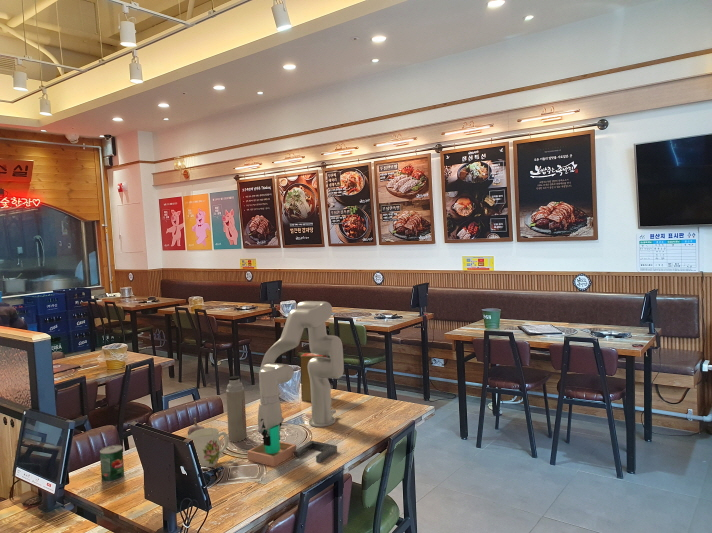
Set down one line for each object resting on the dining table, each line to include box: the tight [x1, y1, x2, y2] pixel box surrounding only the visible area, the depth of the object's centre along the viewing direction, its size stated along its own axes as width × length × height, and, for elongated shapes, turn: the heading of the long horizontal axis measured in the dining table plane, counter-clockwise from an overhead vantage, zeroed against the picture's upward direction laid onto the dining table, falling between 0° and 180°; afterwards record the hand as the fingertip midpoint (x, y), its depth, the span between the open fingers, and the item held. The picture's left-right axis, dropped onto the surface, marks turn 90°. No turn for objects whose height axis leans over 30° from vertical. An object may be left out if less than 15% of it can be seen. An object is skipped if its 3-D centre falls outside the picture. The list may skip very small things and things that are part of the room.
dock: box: [293, 440, 338, 464], centre depth 208 cm, size 12×13×2 cm
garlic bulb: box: [187, 417, 205, 436], centre depth 235 cm, size 8×7×8 cm
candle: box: [265, 425, 281, 454], centre depth 208 cm, size 6×6×12 cm
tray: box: [246, 440, 297, 467], centre depth 208 cm, size 14×14×4 cm
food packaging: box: [299, 352, 328, 402], centre depth 282 cm, size 13×9×25 cm
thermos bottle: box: [225, 375, 248, 442], centre depth 228 cm, size 8×8×28 cm
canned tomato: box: [99, 444, 125, 483], centre depth 194 cm, size 8×8×11 cm
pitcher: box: [186, 427, 229, 468], centre depth 203 cm, size 11×18×14 cm, turn 138°
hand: (271, 442), depth 208 cm, fingers closed on candle, 5 cm apart
